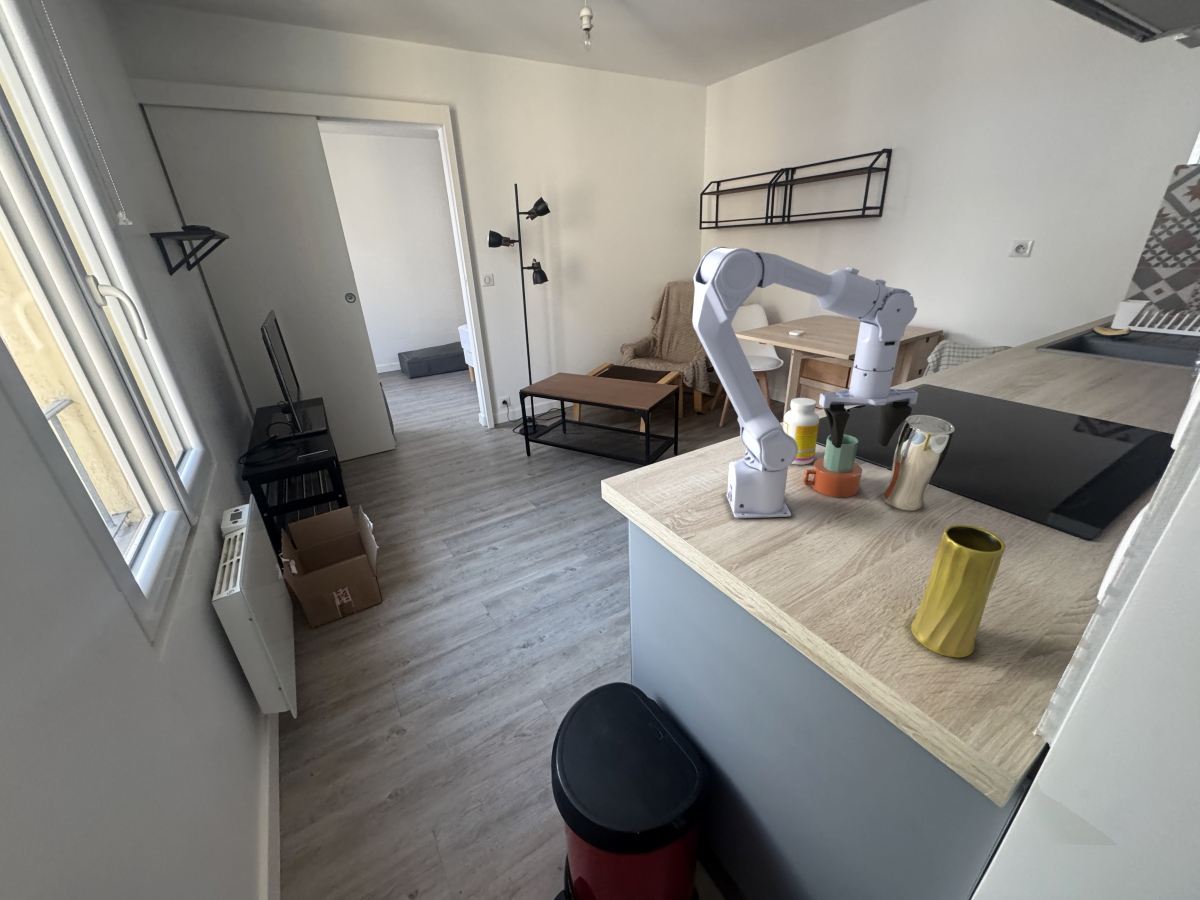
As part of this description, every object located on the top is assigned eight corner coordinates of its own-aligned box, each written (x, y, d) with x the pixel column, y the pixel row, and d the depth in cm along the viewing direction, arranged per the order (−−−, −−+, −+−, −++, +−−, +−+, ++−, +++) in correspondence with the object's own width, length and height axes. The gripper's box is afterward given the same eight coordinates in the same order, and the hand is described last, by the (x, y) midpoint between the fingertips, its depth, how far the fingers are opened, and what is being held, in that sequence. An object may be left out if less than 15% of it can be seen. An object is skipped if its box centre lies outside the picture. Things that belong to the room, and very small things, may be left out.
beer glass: (931, 514, 78) (964, 436, 70) (886, 510, 79) (913, 432, 72) (915, 490, 84) (944, 415, 76) (873, 487, 85) (898, 413, 77)
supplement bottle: (820, 459, 98) (829, 401, 92) (801, 469, 94) (808, 409, 89) (792, 449, 103) (799, 393, 97) (773, 458, 100) (778, 401, 94)
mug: (847, 475, 91) (850, 456, 89) (866, 496, 84) (870, 476, 82) (795, 477, 92) (798, 458, 90) (810, 498, 84) (813, 478, 83)
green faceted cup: (829, 473, 84) (834, 445, 81) (818, 460, 88) (822, 434, 86) (858, 472, 83) (863, 444, 81) (846, 459, 88) (850, 433, 86)
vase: (899, 621, 58) (925, 524, 52) (946, 615, 58) (978, 519, 52) (935, 661, 52) (969, 559, 46) (987, 655, 53) (1028, 552, 47)
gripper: (836, 376, 71) (824, 456, 76) (936, 371, 70) (916, 453, 75) (819, 364, 77) (808, 439, 83) (910, 359, 76) (893, 435, 82)
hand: (858, 444), depth 80 cm, fingers open, 7 cm apart
